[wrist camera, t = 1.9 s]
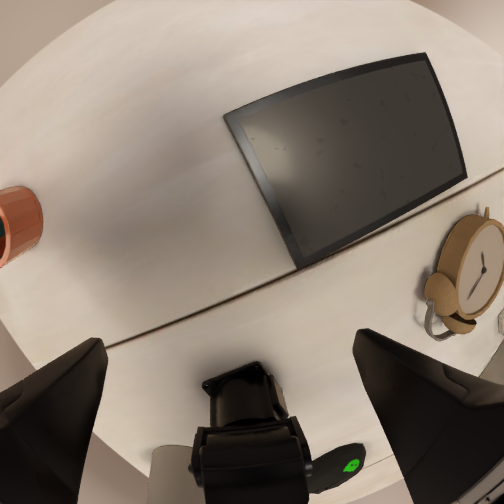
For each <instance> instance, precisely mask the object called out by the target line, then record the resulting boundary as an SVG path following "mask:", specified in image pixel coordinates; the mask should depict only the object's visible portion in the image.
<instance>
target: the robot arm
mask: <svg viewBox="0 0 504 504" xmlns="http://www.w3.org/2000/svg"><path fill="white" fill-rule="evenodd" d="M353 355H354V358H355V361H356V364H357V367H358V370H359V373H360V376H361V379H362V382H363V385H364V388H365V390H366V392H367V394H368V396H369V399H370V401H371V403H372V405H373V407H374V410H375V412H376V414H377V416H378V418H379V421H380V423H381V425H382V427H383V430H384V432H385V434H386V437H387V439H388V441H389V444H390V446H391V448H392V451H393V453H394V455H395V458H396V460H397V462H398V465H399V467H400V470H401V472H402V475H403V477H404V480H405V482H406V485H407V487H408V490H409V492H410V495H411V498H412V500H413V503H414V504H457V503H458V504H504V385H502V384H497V383H494V382H491V381H488V380H485V379H482V378H479V377H476V376H473V375H471V374H468V373H465V372H463V371H460V370H458V369H455V368H453V367H451V366H449V365H446V364H444V363H441V362H440V361H437V360H435V359H433V358H431V357H429V356H427V355H424V354H422V353H420V352H418V351H416V350H414V349H411V348H409V347H407V346H405V345H403V344H401V343H398V342H396V341H394V340H392V339H390V338H388V337H386V336H384V335H381V334H379V333H377V332H375V331H373V330H371V329H369V328H365V329H359V330H358V331H357V332H356V336H355V340H354V344H353ZM107 365H108V356H107V353H106V350H105V347H104V343H103V341H102V339H100V338H89V339H88V340H86V341H84V342H83V343H81V344H79V345H78V346H76V347H74V348H73V349H71V350H70V351H68V352H66V353H65V354H63V355H61V356H60V357H58V358H57V359H55V360H53V361H52V362H50V363H48V364H47V365H45V366H44V367H42V368H40V369H39V370H37V371H36V372H34V373H32V374H31V375H29V376H28V377H26V378H24V380H21V381H20V382H18V383H16V384H15V385H13V386H11V387H10V388H8V389H6V390H4V391H2V392H1V393H0V504H77V501H78V495H79V488H80V483H81V478H82V473H83V468H84V463H85V459H86V454H87V450H88V446H89V442H90V438H91V433H92V430H93V426H94V422H95V419H96V415H97V411H98V408H99V404H100V401H101V397H102V392H103V386H104V381H105V376H106V370H107ZM255 366H258V367H255ZM205 385H208V386H205ZM202 388H203V390H204V391H205V392H206V393H207V394H208V395H209V396H210V427H198V429H197V433H196V434H195V439H194V444H193V450H192V455H191V460H190V463H189V465H188V471H189V472H190V473H191V474H192V475H193V476H194V478H195V481H196V484H197V486H198V487H199V488H203V490H204V497H205V503H206V504H308V502H309V490H308V484H307V478H306V477H307V476H311V475H312V459H311V454H310V449H309V446H308V443H307V440H306V438H305V436H304V433H303V431H302V429H301V427H300V424H299V422H298V420H297V418H296V416H293V417H290V418H288V416H289V414H288V410H287V407H286V403H285V399H284V396H283V392H282V388H281V387H280V385H279V384H278V382H277V381H276V380H275V378H274V377H273V375H268V373H267V372H266V370H265V369H264V367H263V366H262V364H261V363H260V362H258V361H255V362H252V363H250V364H248V365H245V366H243V367H240V368H238V369H235V370H233V371H230V372H228V373H225V374H223V375H220V376H217V377H215V378H212V379H209V380H207V381H204V382H203V383H202Z"/></svg>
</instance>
